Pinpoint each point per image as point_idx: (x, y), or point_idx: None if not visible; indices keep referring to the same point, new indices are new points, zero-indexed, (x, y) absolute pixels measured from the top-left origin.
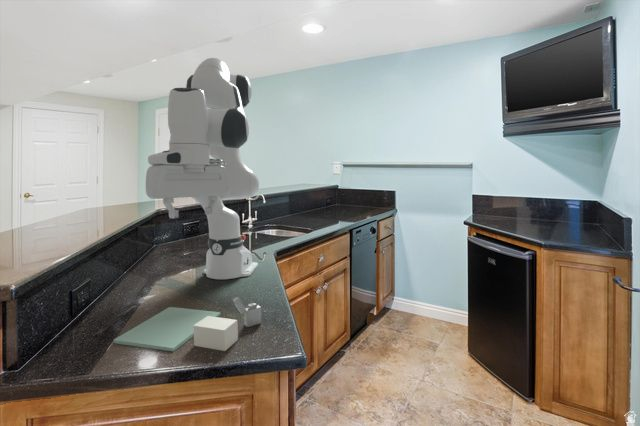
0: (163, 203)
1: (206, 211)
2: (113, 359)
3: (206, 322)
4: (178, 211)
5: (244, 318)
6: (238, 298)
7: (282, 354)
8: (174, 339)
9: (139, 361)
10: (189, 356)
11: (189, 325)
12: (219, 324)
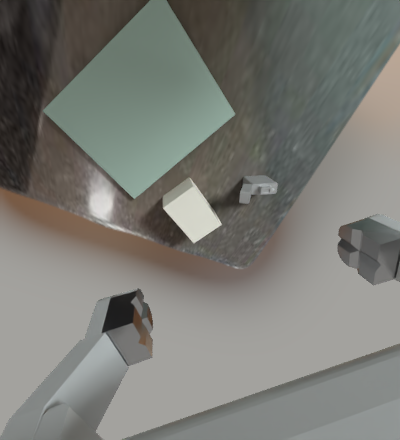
0: (12, 416)
1: (356, 242)
2: (53, 171)
3: (182, 209)
4: (151, 350)
5: (246, 181)
6: (247, 202)
7: (234, 263)
8: (139, 174)
9: (90, 197)
10: (150, 218)
11: (171, 137)
12: (195, 224)
